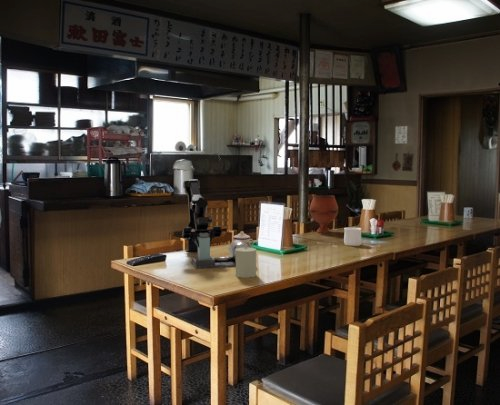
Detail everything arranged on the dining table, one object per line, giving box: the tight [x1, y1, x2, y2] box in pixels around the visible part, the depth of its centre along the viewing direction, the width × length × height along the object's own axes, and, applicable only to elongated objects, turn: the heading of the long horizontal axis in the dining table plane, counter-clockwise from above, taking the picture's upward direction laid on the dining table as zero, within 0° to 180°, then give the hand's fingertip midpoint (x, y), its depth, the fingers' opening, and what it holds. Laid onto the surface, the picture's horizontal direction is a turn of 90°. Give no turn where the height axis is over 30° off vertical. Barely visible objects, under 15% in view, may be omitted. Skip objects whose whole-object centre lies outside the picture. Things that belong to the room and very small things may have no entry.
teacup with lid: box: [233, 231, 254, 248], centre depth 260 cm, size 12×9×12 cm
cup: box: [343, 226, 362, 247], centre depth 284 cm, size 10×10×10 cm
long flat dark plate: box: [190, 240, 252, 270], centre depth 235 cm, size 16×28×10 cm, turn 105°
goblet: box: [309, 194, 339, 234], centre depth 330 cm, size 19×19×25 cm
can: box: [234, 247, 257, 279], centre depth 212 cm, size 9×9×12 cm
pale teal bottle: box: [197, 233, 211, 260], centre depth 232 cm, size 5×5×13 cm
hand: (204, 246), depth 231 cm, fingers open, 5 cm apart
